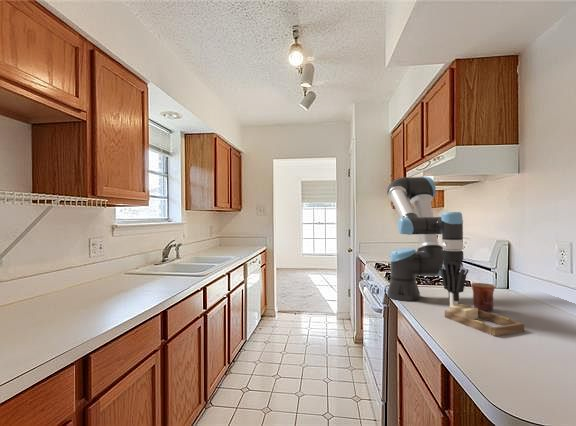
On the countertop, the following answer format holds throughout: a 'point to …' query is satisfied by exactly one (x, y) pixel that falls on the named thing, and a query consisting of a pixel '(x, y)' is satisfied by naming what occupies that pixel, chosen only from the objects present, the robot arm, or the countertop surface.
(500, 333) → the beam slot
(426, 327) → the countertop surface
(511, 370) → the countertop surface
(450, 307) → the block
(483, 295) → the mug
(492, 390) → the countertop surface
